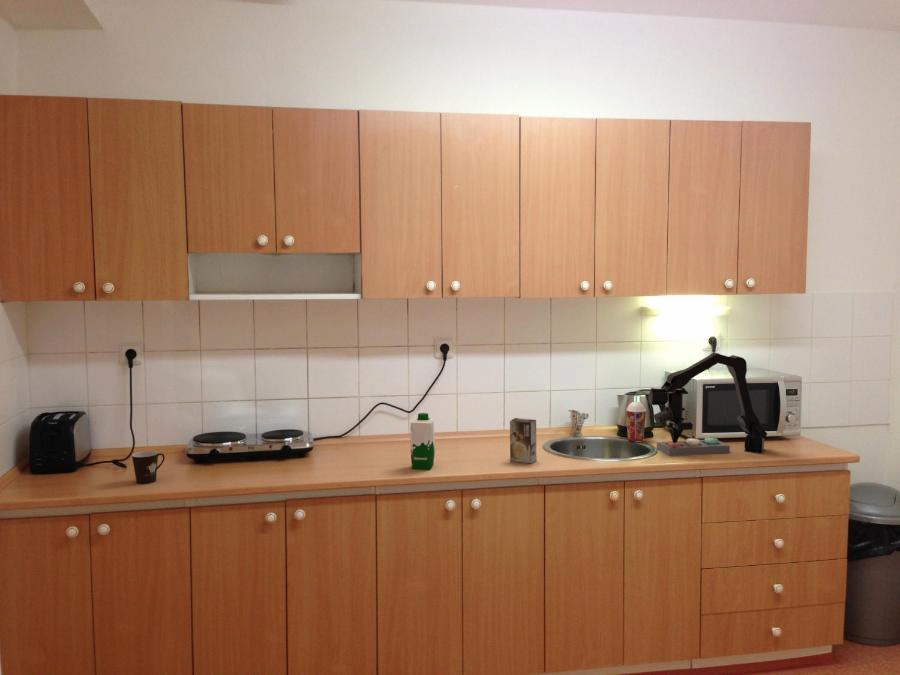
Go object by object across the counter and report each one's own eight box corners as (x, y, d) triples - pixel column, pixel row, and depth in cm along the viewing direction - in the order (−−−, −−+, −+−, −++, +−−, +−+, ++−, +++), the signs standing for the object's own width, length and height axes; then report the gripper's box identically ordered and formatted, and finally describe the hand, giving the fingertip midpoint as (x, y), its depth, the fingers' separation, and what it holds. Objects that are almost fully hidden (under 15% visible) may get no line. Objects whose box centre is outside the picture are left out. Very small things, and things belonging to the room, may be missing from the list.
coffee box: (537, 460, 276) (537, 419, 274) (531, 463, 270) (531, 422, 269) (515, 457, 280) (515, 417, 279) (509, 461, 274) (509, 420, 273)
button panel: (729, 452, 284) (729, 445, 284) (669, 455, 280) (669, 448, 280) (715, 446, 295) (715, 439, 295) (656, 449, 291) (656, 442, 291)
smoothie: (646, 443, 301) (647, 397, 300) (626, 442, 303) (627, 396, 301) (644, 438, 310) (645, 393, 308) (624, 438, 311) (625, 393, 309)
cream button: (701, 446, 285) (701, 441, 285) (690, 446, 285) (690, 441, 284) (695, 443, 290) (695, 438, 290) (684, 444, 290) (684, 438, 289)
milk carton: (436, 464, 270) (435, 413, 269) (432, 470, 261) (431, 417, 260) (413, 463, 272) (413, 412, 270) (409, 470, 263) (408, 417, 261)
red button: (683, 450, 284) (683, 444, 284) (671, 450, 283) (671, 445, 283) (677, 447, 289) (677, 442, 289) (665, 447, 288) (665, 442, 288)
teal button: (719, 445, 287) (720, 440, 286) (708, 446, 286) (708, 440, 286) (713, 442, 292) (713, 437, 291) (702, 443, 291) (702, 437, 291)
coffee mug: (136, 486, 245) (134, 458, 244) (130, 480, 252) (129, 453, 251) (171, 480, 252) (169, 453, 251) (164, 475, 259) (163, 448, 258)
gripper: (646, 401, 293) (645, 438, 294) (667, 409, 274) (666, 449, 276) (671, 400, 294) (670, 437, 296) (693, 408, 276) (693, 447, 277)
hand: (674, 442), depth 286 cm, fingers closed
